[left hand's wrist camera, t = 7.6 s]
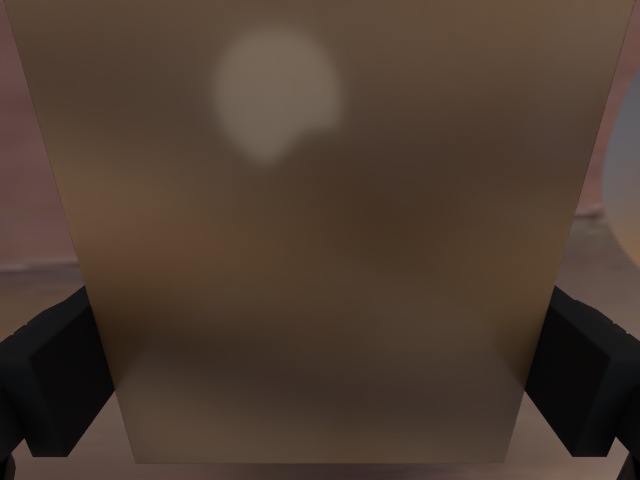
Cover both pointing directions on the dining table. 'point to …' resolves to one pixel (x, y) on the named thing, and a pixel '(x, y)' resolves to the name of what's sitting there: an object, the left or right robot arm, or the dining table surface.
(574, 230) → the dining table surface
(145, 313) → the cabinet
